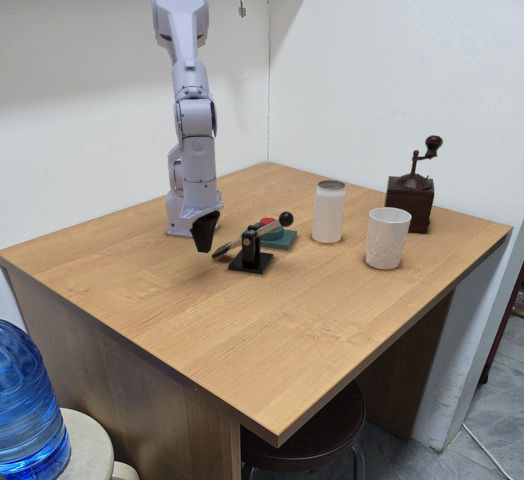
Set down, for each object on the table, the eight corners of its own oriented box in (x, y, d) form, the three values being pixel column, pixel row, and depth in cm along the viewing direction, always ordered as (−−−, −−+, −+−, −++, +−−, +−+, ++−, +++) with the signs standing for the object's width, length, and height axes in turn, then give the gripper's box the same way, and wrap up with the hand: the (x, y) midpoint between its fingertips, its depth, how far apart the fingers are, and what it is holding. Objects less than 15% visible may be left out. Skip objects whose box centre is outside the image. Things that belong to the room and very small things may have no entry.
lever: (215, 263, 97) (208, 251, 96) (222, 255, 100) (215, 243, 99) (293, 226, 88) (286, 213, 87) (298, 218, 91) (291, 205, 90)
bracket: (228, 270, 95) (226, 236, 91) (241, 253, 101) (240, 220, 97) (262, 275, 94) (262, 240, 89) (273, 258, 100) (274, 224, 95)
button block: (238, 244, 105) (238, 230, 103) (249, 230, 111) (249, 217, 109) (287, 251, 102) (288, 237, 100) (296, 236, 108) (297, 222, 107)
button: (257, 230, 104) (258, 222, 103) (262, 224, 107) (262, 216, 106) (274, 232, 103) (274, 224, 102) (278, 226, 106) (278, 218, 105)
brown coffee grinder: (430, 234, 110) (449, 151, 99) (380, 229, 112) (393, 147, 101) (427, 210, 122) (444, 133, 112) (382, 206, 124) (395, 130, 113)
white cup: (404, 257, 101) (413, 210, 95) (399, 274, 95) (409, 225, 89) (365, 251, 103) (372, 205, 97) (359, 267, 97) (366, 219, 91)
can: (339, 246, 105) (346, 190, 98) (310, 243, 106) (314, 188, 99) (342, 234, 110) (348, 180, 103) (313, 231, 111) (317, 178, 104)
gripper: (205, 193, 76) (209, 271, 84) (235, 167, 87) (237, 238, 95) (163, 188, 78) (172, 265, 86) (199, 163, 89) (203, 234, 97)
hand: (204, 251), depth 91 cm, fingers closed
